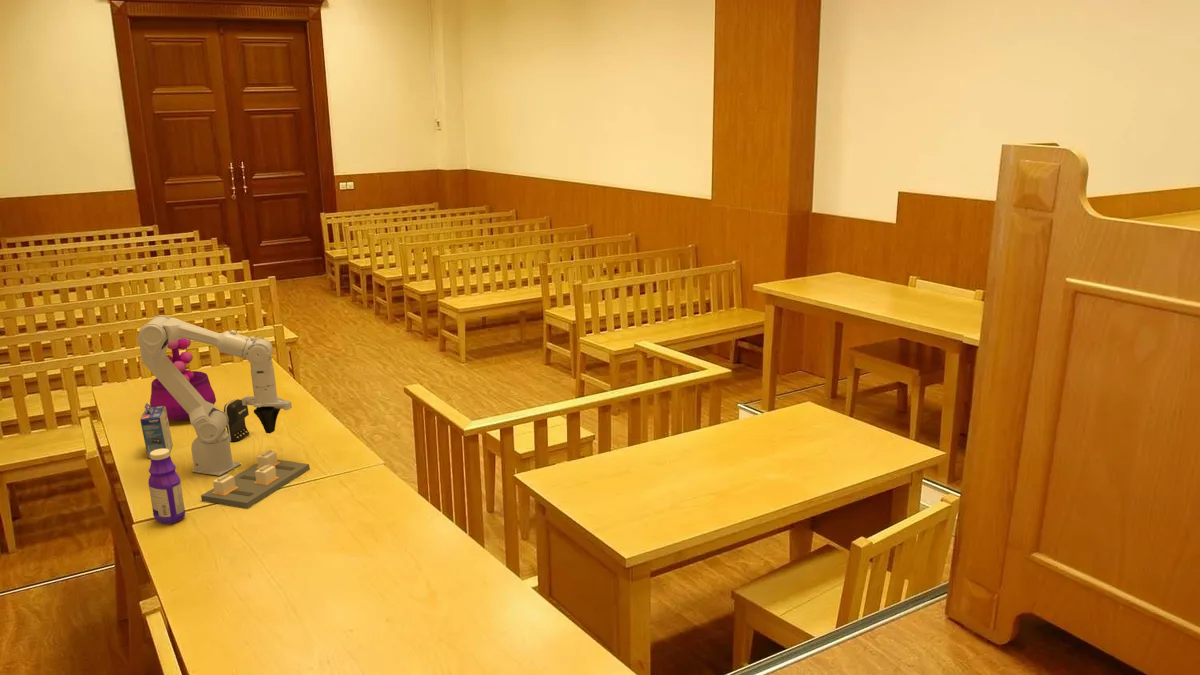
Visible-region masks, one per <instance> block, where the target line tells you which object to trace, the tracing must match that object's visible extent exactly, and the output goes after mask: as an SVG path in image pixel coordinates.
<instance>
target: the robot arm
mask: <svg viewBox="0 0 1200 675" xmlns="http://www.w3.org/2000/svg"><path fill="white" fill-rule="evenodd" d="M183 338H184V339H189V340H191V341H193V342H199V343H202V344H207V345H210V346H211V345H212V346H215V347H216V349H217V350H218V351H219V352H220V353H223V354H227V355H230V356H234V357H238V358H242V359H246V360H247V362H248V363H249V364H250V376H251V385H252V390H253V396H248V395H247V396H245V397H242V398H241V400H242V405H245V406H246V405H247V406H253V407H254V408H255V409H253V414H255V416H256V417H257V418H258V420H259V422H260V423H261V426H262V427H263V429H264V432H265V434H268V435H269V434H272V433H274V432H276V424H277V419H278V416H279V413H280V411H281V410H284V411H289V410H291V409H293V406H292V401H290V400H285V399H284V398H281V397H278V391H277V384H276V376H275V368H274V365H273V364H274V362H273V357H272V354H273V352H274V348H273V344H272V342H271V341H269V339H267V338H264V337H256V336H250V337H249V336H247V335H242V334H239V333H237V330H233V329H232V330H230V331H229V330H226V331H223V332H220V333H219V332H216V331H213V330H210V329H207V328H204V327H201V326H199V325H195V324H192V323H189V322H187V321H184V320H182V319H181V320H180V319H178V318H176V317H169V316H167V315H162V314H160V315H156V316H153V317H152V318H151V319H150V321H148V322H147V323H146V324H144V325H142V327H141V328H139V331H138V335H137V338H136V342H137V344H138V346H139V351H140V355H141V361H142V363H143V364H144V366H146V367H147V369H148V370H149V371H150V372H151V373H152V375H153V376H154V377H155V379H156V378H157V379H158V380H159V381H160V382H161V384H162V385H163V386H164V387H165V388H166V389H167V390H168V391H169V393H170V394H171V395H172V396H173V397H174V398H175V399H176V400H177V402H178V403H179V404H180V405H181V406H182V407H183V408H184V410H185V411H186V412H187V413H188V414H189V417H190V419H189V420H190V425H191V426H192V427H193V428H194V429H195V430H194V431H195V435H196V438H194V439H193V441H192V443H191V456H192V462H193V469H191V471H192V473H197V474H198V473H199V474H203V475H204V474H205V475H211V476H218V477H222V476H223V475H225V474H227V473H228V472H230V471H231V470H234V469H235V468H237V467H239V466H240V465H241V462H239V461H238V462H236V461H233V457H232V456H233V455H232V449H231V448H232V447H231V441H229V434H228V432H227V428H226V426H227V425H228V422H229V419H228V416H227V414H226V413H225V412H224V410H222V409H219V408H217V407H216V405H215V404H214V405H213V404H212V403H209V402H207V401H205V400H204V399H203V397H202V396H201V395H200V394H199V393H198V392H197V390H196V389H195V388H194V387H193V386H192V385H191V384H190V382H189V381H188V380H187V379H186V378H185V377H184V376H183V374H182V373H181V372H180V371H179V370H178V369H177V367H176V366H175V365H174V364H173V363H172V362H171V361H170V359H169V358H168V357H167V356H166V355H167V351H168V342H173V341H176V340H179V339H183Z"/></svg>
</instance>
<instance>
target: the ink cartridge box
mask: <svg viewBox="0 0 1200 675" xmlns="http://www.w3.org/2000/svg"><path fill="white" fill-rule="evenodd" d="M144 408H145V409H144V412H143V414H142V415H141V417H140V421H139V422H140V425H141V431H142V436H143V440H144V445H145V449H146V454H147V459H148V458H151V457H150V453H151V452H152V451H154V450H156V449H169V452H171V450H172V447H173V445H172V444H173V440H172V439H173V438H172V435H171V428H170V425H169V424H170V423H169V420H168V417H167V412H166V407H165V406H158V407H151V406H150V403H148V402H146V403H145V404H144Z"/></svg>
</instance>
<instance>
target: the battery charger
mask: <svg viewBox="0 0 1200 675" xmlns="http://www.w3.org/2000/svg"><path fill="white" fill-rule="evenodd" d="M248 406H249V405H246V406H245V405H242V399H239V398H235V399H233V400H230V401H228V402H227V403H226V404H224V407H223V411H224V412H225V413H226V414H227V416H228V419H229V422H228V425H227V426H226V428H225V429H226V431H227V432H228V434H229V441H230V442H238V441H241V440H243V439H244V438H246V437H247V436H249V434H250V432H249V430H248V428H247V424H246V420H245V419H246V418H247V417H248V416H249V414H250V413H249V408H248Z"/></svg>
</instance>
